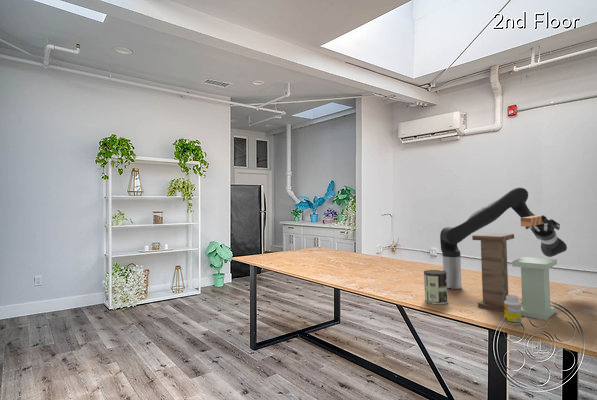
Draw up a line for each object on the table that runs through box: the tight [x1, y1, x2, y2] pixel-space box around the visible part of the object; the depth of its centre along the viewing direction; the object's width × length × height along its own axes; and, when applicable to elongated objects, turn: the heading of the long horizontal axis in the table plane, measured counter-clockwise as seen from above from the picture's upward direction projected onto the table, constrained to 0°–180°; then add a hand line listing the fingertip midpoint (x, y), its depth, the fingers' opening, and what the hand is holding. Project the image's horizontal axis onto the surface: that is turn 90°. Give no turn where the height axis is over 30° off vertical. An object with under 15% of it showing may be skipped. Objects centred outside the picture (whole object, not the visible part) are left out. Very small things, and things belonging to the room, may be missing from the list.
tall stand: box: [471, 232, 515, 313], centre depth 156 cm, size 16×12×32 cm
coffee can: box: [423, 269, 449, 305], centre depth 166 cm, size 10×10×14 cm
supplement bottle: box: [503, 294, 522, 326], centre depth 134 cm, size 6×6×10 cm
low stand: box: [511, 256, 558, 321], centre depth 145 cm, size 16×12×22 cm
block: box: [520, 214, 546, 227], centre depth 152 cm, size 24×4×4 cm, turn 133°
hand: (537, 217), depth 156 cm, fingers closed on block, 3 cm apart
